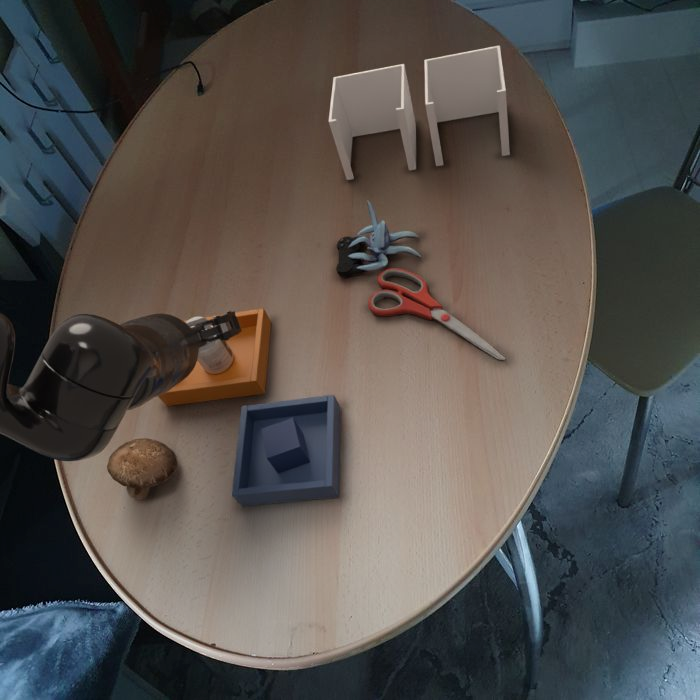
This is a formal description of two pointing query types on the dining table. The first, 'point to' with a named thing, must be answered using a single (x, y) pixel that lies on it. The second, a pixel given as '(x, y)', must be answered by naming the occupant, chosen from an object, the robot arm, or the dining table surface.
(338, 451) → the blue tray
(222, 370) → the pill bottle
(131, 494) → the mushroom
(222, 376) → the amber tray
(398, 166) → the dining table surface
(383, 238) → the figurine
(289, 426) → the blue block
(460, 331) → the scissors
